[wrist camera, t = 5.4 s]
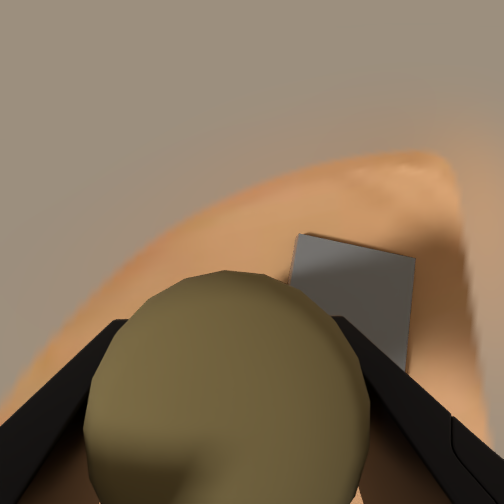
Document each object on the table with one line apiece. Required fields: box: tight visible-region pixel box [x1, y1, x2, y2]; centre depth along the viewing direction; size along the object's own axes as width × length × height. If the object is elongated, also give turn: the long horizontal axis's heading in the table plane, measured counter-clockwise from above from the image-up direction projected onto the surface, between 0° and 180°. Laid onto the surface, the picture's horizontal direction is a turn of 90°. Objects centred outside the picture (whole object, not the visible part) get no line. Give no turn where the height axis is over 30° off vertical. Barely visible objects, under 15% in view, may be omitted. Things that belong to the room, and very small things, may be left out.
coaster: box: [288, 234, 416, 371], centre depth 22 cm, size 8×8×1 cm
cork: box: [83, 270, 370, 504], centre depth 10 cm, size 6×6×11 cm
